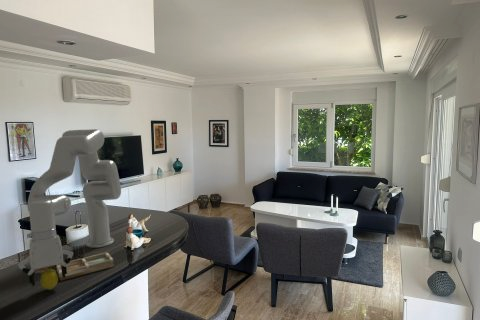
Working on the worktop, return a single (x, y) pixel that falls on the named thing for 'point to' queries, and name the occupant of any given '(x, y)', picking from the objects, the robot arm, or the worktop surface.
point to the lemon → (49, 279)
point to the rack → (86, 265)
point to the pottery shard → (42, 269)
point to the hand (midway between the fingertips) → (48, 280)
